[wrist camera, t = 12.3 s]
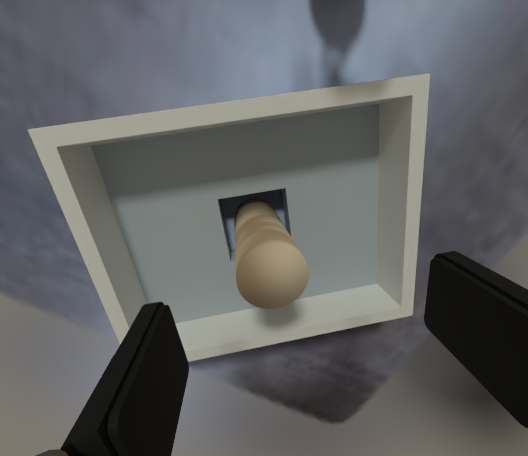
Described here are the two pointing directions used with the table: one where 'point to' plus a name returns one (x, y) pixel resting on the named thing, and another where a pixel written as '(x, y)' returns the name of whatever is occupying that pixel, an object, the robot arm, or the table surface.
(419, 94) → the tray
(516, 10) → the table surface
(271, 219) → the peg
